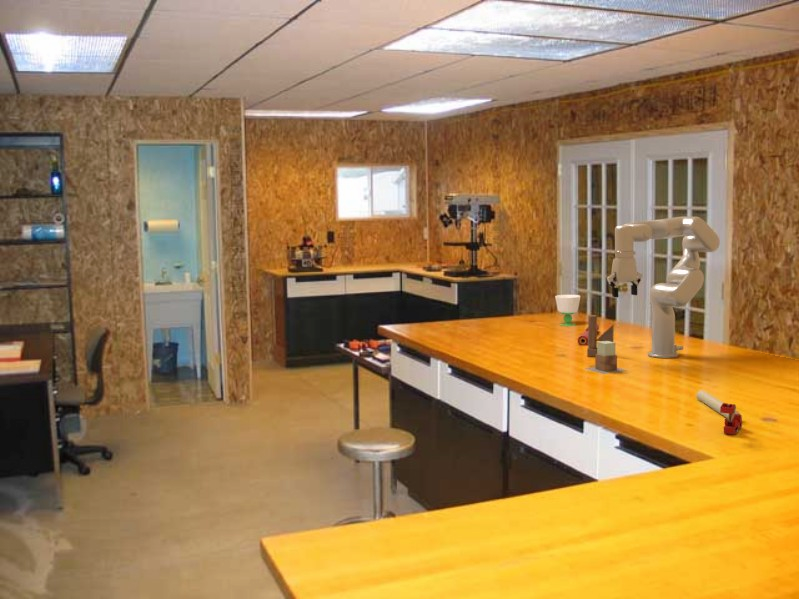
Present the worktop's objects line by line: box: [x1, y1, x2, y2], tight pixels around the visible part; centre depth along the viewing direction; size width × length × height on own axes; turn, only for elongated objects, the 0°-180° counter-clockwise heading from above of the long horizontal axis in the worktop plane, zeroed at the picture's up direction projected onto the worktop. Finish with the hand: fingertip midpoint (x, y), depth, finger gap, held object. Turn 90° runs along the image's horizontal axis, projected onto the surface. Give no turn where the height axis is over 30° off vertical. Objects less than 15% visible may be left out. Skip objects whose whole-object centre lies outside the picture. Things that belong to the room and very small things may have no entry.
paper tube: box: [695, 389, 741, 419], centre depth 268 cm, size 4×30×4 cm, turn 0°
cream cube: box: [597, 341, 616, 356], centre depth 331 cm, size 5×5×5 cm
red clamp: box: [719, 402, 743, 435], centre depth 242 cm, size 3×14×10 cm, turn 145°
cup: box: [554, 294, 581, 327], centre depth 454 cm, size 14×14×16 cm
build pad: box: [584, 366, 628, 375], centre depth 332 cm, size 12×12×1 cm
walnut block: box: [594, 354, 618, 372], centre depth 331 cm, size 6×6×6 cm
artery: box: [577, 323, 600, 346], centre depth 410 cm, size 42×5×5 cm, turn 160°
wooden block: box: [586, 314, 614, 358], centre depth 362 cm, size 4×11×18 cm, turn 67°
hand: (624, 295), depth 347 cm, fingers open, 9 cm apart
